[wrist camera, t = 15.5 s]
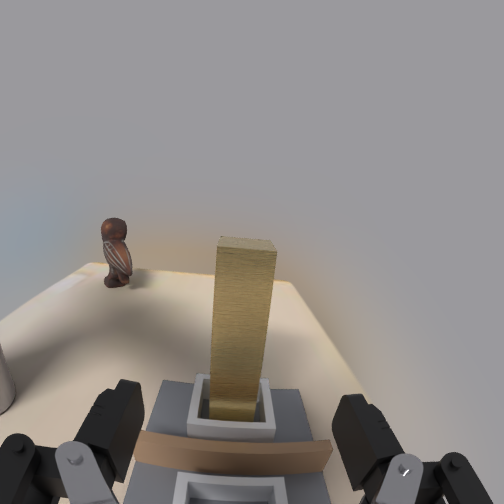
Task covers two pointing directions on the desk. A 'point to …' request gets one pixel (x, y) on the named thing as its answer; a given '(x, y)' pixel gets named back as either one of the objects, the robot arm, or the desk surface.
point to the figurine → (116, 252)
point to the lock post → (239, 325)
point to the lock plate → (227, 451)
